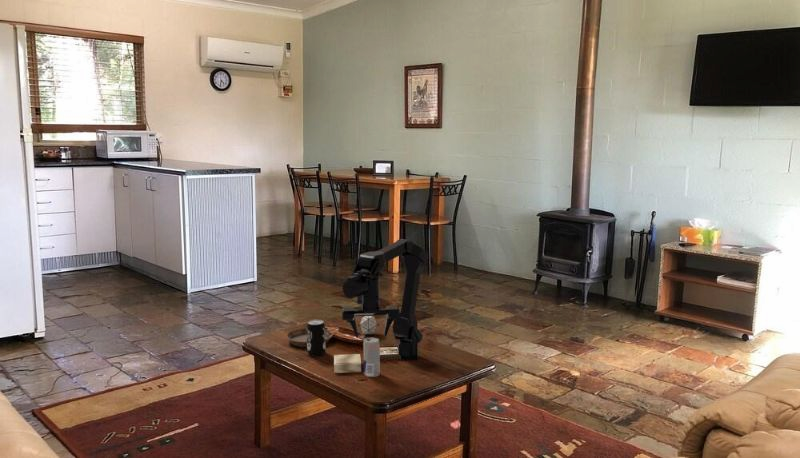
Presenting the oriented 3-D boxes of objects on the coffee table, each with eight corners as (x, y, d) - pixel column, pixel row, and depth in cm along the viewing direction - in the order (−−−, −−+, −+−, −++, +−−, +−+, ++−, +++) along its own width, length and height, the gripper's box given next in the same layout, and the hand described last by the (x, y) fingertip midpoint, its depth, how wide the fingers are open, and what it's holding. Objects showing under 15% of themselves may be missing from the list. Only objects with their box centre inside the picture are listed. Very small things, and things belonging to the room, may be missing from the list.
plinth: (360, 362, 220) (359, 353, 219) (361, 371, 211) (360, 362, 211) (334, 363, 219) (334, 354, 219) (334, 373, 210) (334, 364, 210)
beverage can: (322, 357, 225) (321, 325, 223) (304, 356, 226) (303, 324, 224) (327, 351, 231) (327, 319, 229) (311, 349, 233) (310, 318, 231)
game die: (371, 342, 252) (384, 320, 254) (371, 341, 243) (384, 319, 245) (352, 330, 252) (365, 309, 254) (352, 329, 244) (365, 307, 246)
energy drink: (371, 370, 213) (370, 336, 211) (383, 373, 209) (382, 339, 208) (360, 374, 209) (360, 340, 207) (372, 378, 205) (372, 343, 203)
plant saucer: (312, 331, 255) (311, 324, 254) (342, 340, 243) (342, 333, 243) (277, 342, 241) (276, 335, 241) (307, 353, 230) (307, 345, 230)
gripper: (396, 284, 213) (397, 329, 216) (341, 286, 212) (342, 330, 214) (399, 293, 203) (400, 339, 205) (341, 295, 201) (342, 341, 203)
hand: (371, 337), depth 207 cm, fingers open, 9 cm apart
